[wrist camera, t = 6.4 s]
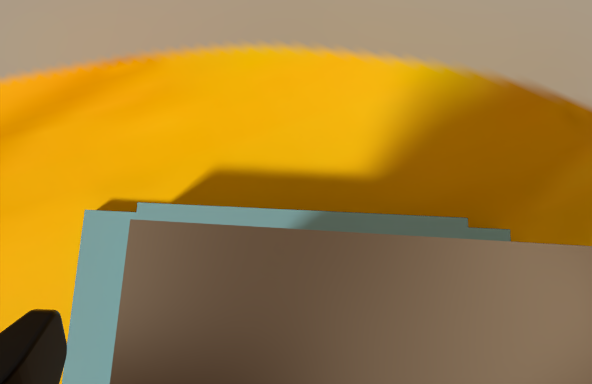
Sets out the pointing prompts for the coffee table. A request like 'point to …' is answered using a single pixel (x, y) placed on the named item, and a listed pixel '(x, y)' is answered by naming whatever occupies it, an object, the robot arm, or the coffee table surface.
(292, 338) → the block
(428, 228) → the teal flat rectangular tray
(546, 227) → the coffee table surface
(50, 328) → the robot arm
